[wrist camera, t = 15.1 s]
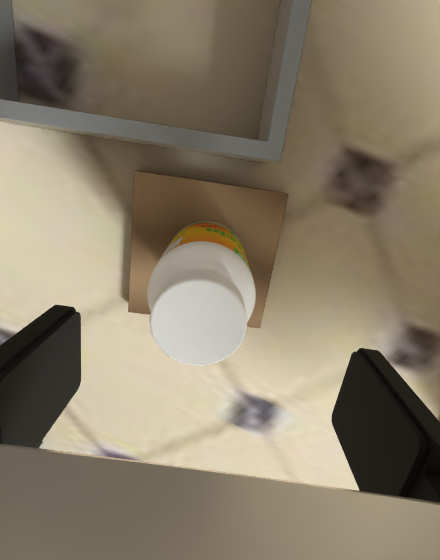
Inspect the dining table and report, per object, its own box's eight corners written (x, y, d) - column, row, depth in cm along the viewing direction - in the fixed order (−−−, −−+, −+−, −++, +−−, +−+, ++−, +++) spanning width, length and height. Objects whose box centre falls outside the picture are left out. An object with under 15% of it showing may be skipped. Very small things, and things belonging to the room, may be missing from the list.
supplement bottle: (260, 253, 21) (293, 316, 12) (212, 307, 23) (209, 401, 14) (199, 203, 20) (185, 232, 11) (152, 264, 22) (105, 334, 12)
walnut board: (258, 321, 24) (260, 328, 23) (131, 306, 24) (128, 311, 23) (285, 192, 21) (288, 193, 20) (138, 170, 20) (134, 171, 19)
